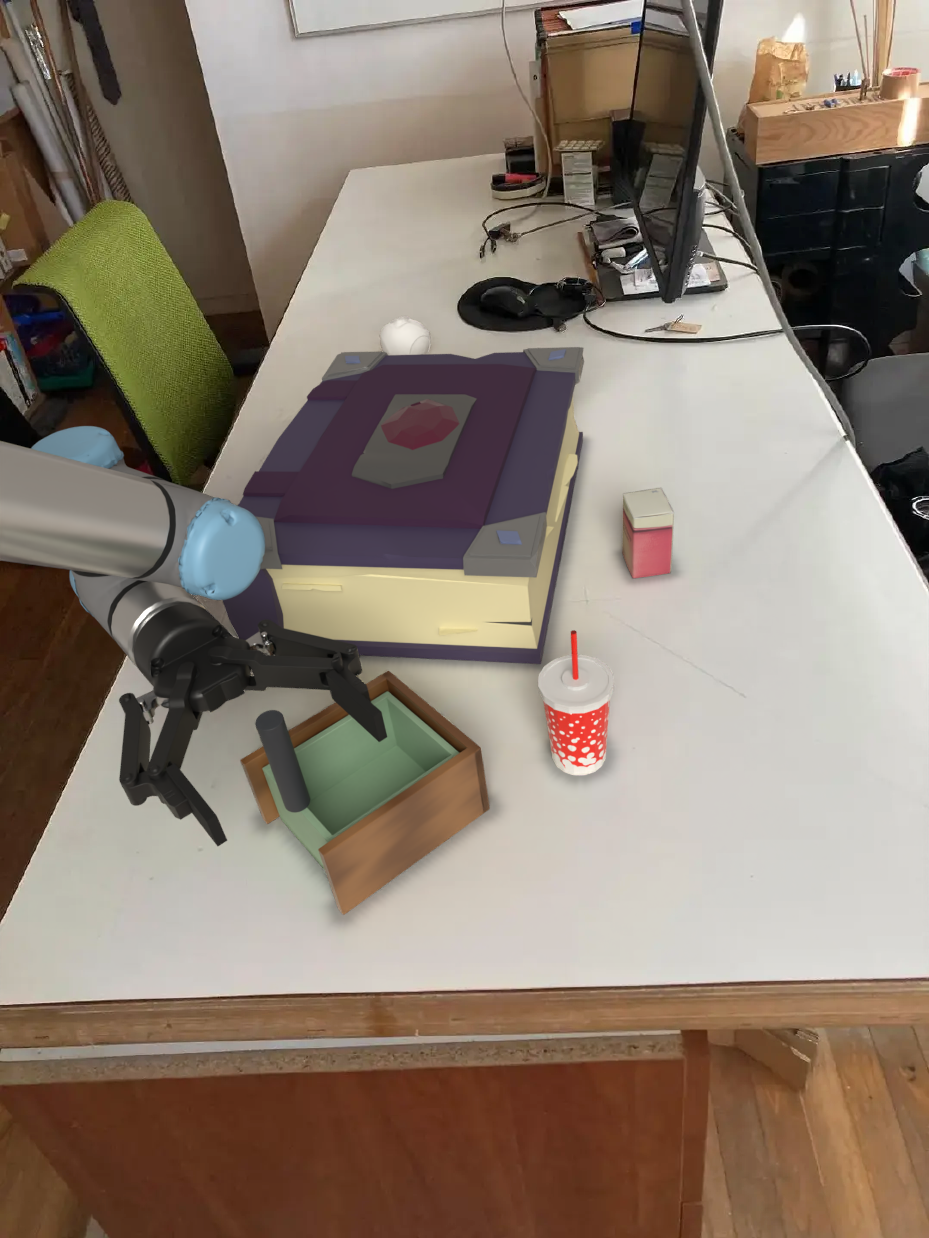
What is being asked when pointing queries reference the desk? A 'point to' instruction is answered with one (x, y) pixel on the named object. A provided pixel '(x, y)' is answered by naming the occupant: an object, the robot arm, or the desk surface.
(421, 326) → the white lumpy ball
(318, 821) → the green open box
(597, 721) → the beverage cup
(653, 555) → the small box
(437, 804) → the wooden drawer casing
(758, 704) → the desk surface
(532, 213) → the desk surface
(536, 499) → the book
